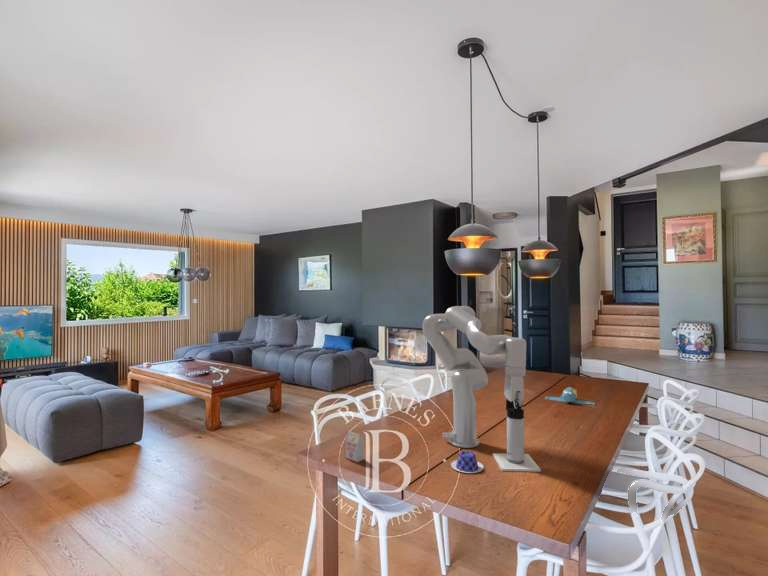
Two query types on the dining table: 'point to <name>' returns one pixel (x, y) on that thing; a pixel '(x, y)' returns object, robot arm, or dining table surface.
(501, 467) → the plate
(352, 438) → the small printed carton
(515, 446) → the travel mug
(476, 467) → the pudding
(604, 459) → the dining table surface
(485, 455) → the dining table surface
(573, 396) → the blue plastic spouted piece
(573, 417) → the dining table surface
